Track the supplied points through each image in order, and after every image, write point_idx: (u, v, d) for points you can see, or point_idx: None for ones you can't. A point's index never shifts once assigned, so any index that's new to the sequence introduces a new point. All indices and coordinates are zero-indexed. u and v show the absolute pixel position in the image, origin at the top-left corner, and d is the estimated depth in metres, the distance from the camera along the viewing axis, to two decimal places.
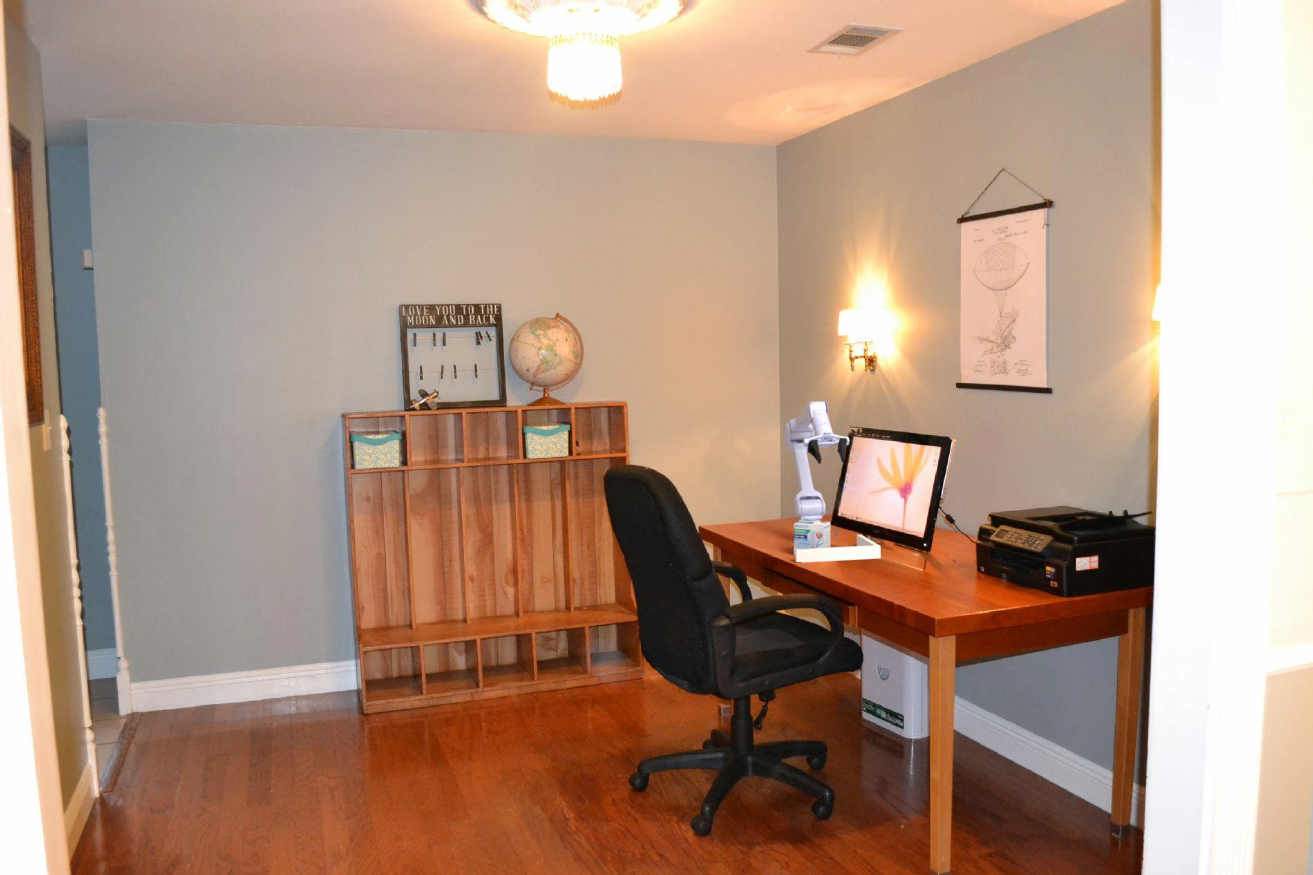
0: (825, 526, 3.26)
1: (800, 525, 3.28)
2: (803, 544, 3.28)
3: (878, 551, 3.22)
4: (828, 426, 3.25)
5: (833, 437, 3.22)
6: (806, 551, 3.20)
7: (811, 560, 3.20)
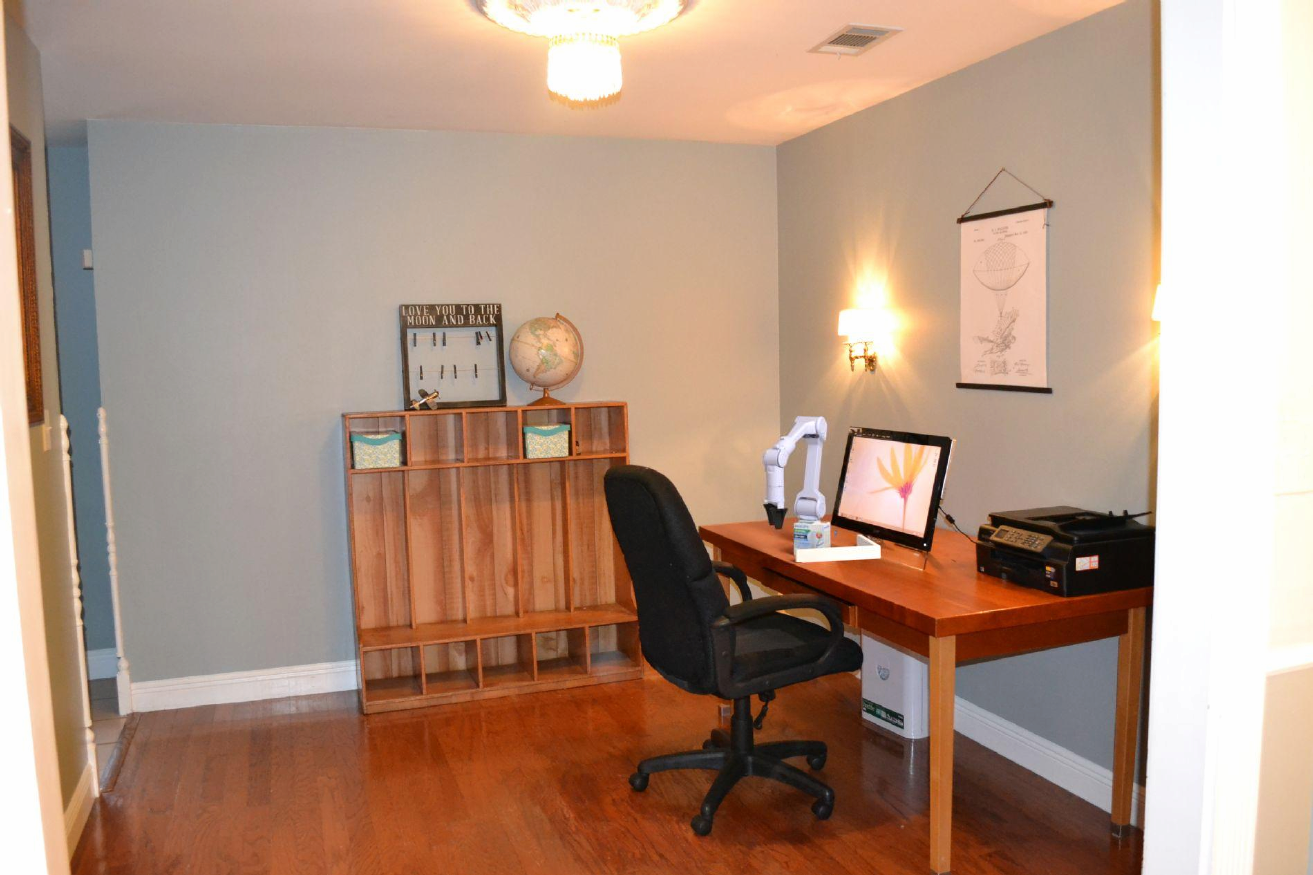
0: (825, 526, 3.26)
1: (800, 525, 3.28)
2: (803, 544, 3.28)
3: (878, 551, 3.22)
4: (768, 489, 3.27)
5: None
6: (806, 551, 3.20)
7: (811, 560, 3.20)
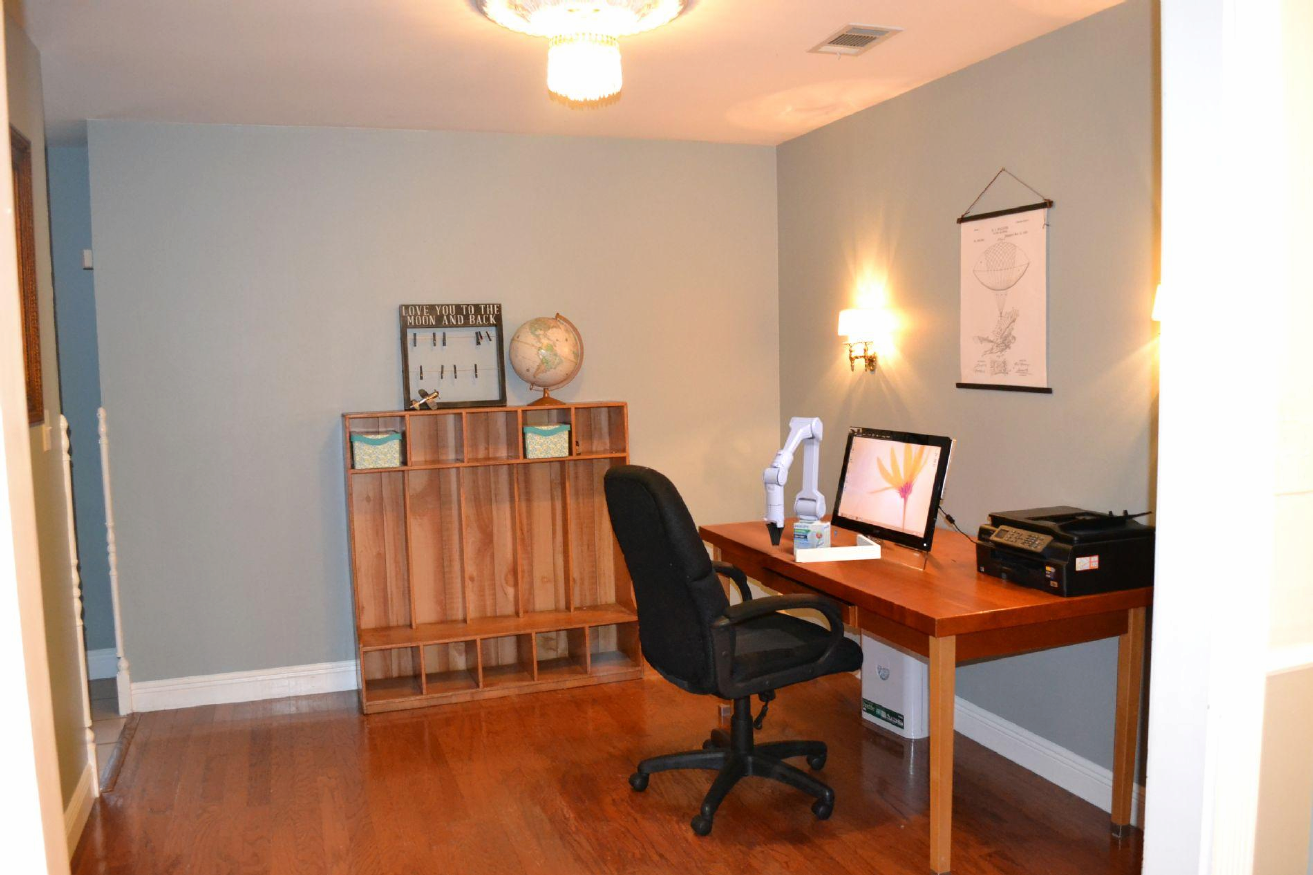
0: (825, 526, 3.26)
1: (800, 525, 3.28)
2: (803, 544, 3.28)
3: (878, 551, 3.22)
4: (768, 508, 3.27)
5: None
6: (806, 551, 3.20)
7: (811, 560, 3.20)
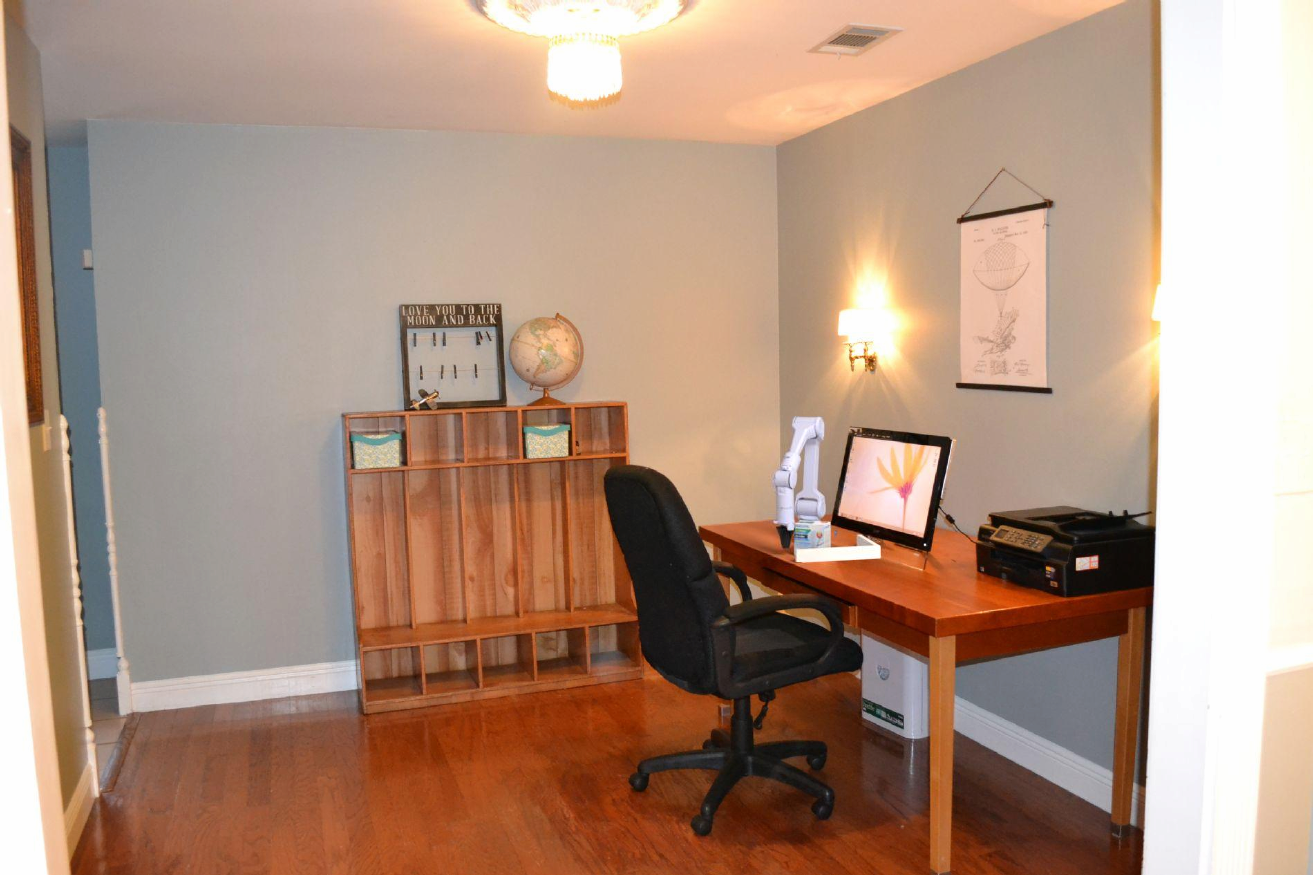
0: (825, 526, 3.26)
1: (800, 525, 3.28)
2: (803, 544, 3.28)
3: (878, 551, 3.22)
4: (778, 511, 3.28)
5: None
6: (806, 551, 3.20)
7: (811, 560, 3.20)
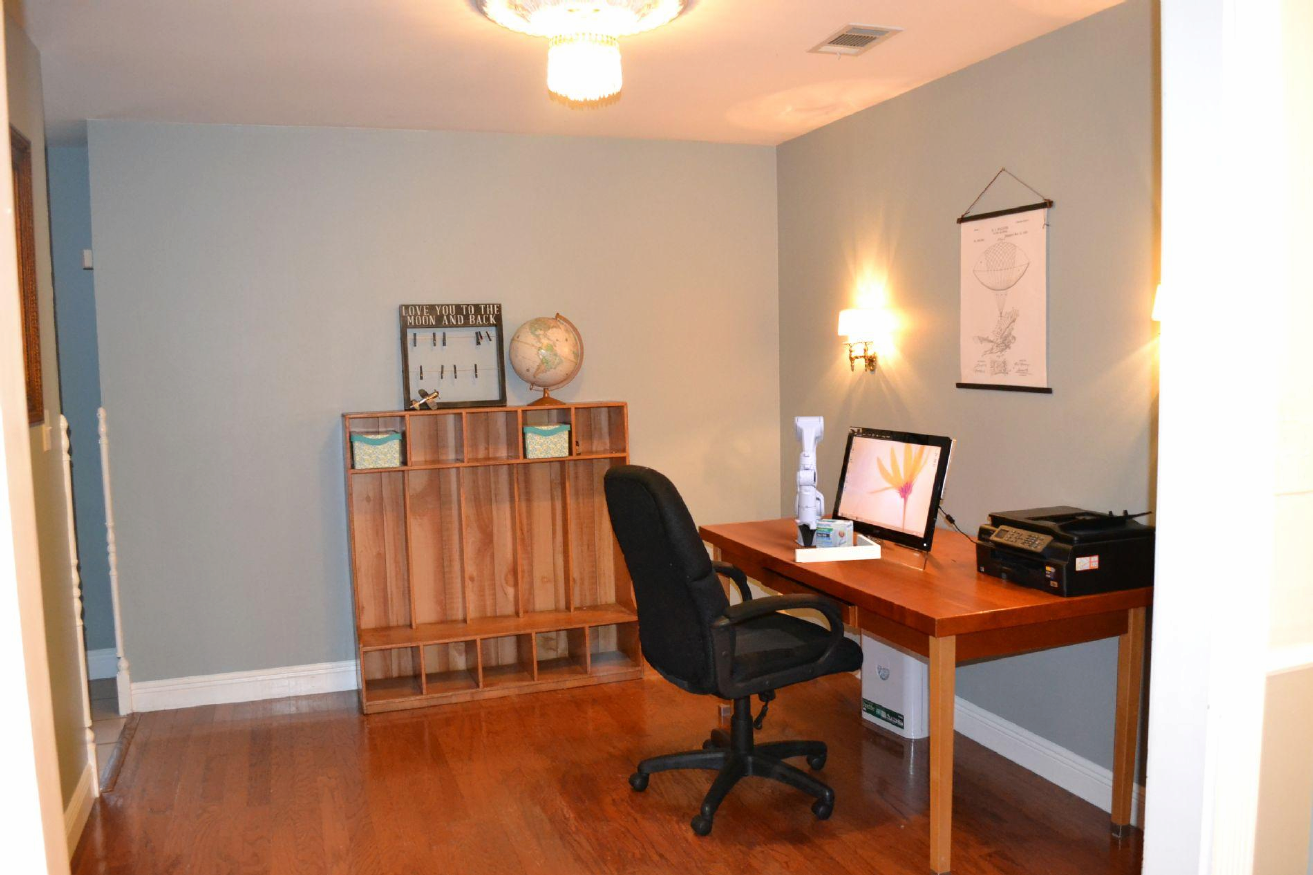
0: (847, 525, 3.26)
1: (822, 524, 3.29)
2: (825, 543, 3.29)
3: (878, 551, 3.22)
4: (800, 510, 3.29)
5: None
6: (806, 551, 3.20)
7: (811, 560, 3.20)
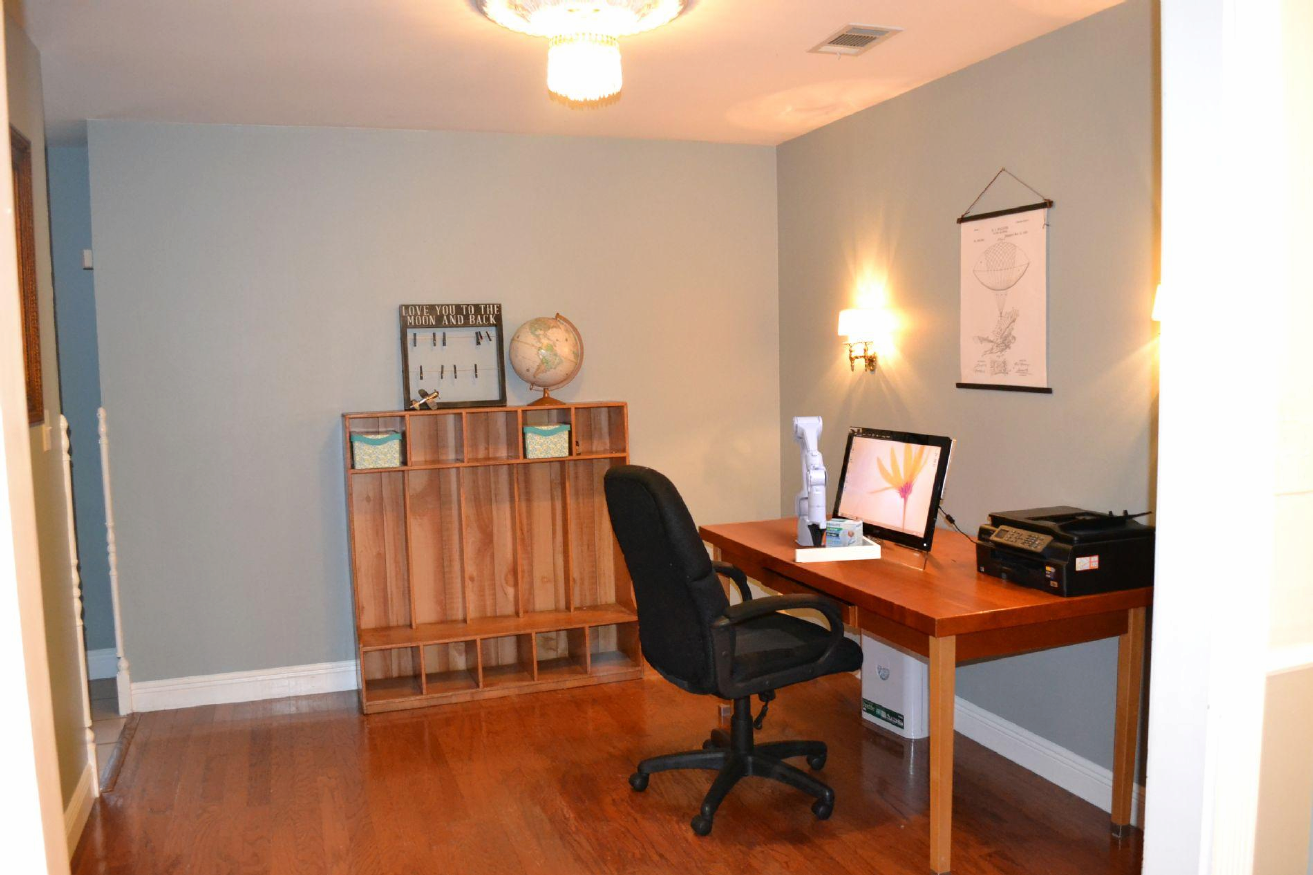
0: (857, 524, 3.27)
1: (832, 523, 3.30)
2: (834, 542, 3.30)
3: (878, 551, 3.22)
4: (810, 509, 3.29)
5: None
6: (806, 551, 3.20)
7: (811, 560, 3.20)
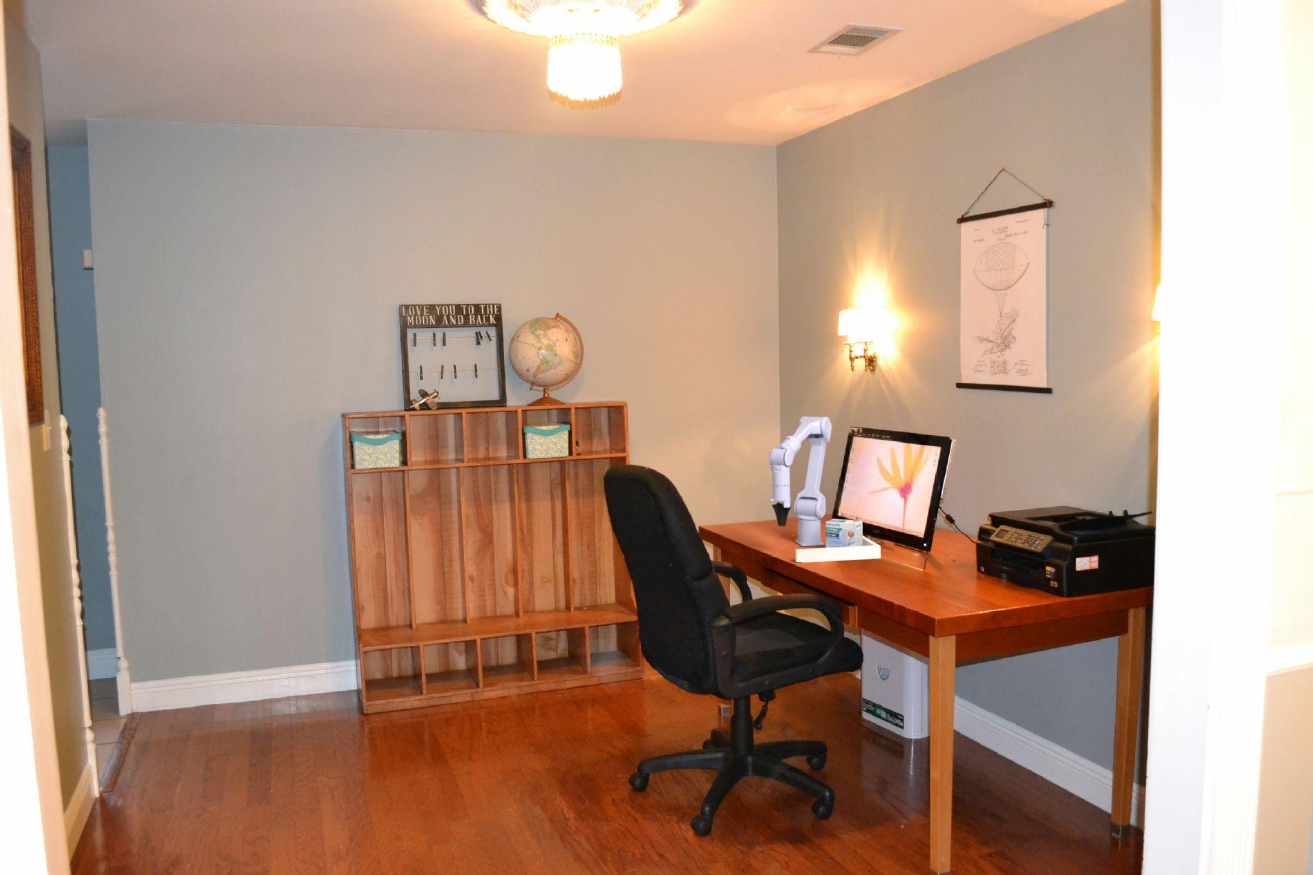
0: (857, 525, 3.27)
1: (832, 523, 3.30)
2: (834, 543, 3.30)
3: (878, 551, 3.22)
4: (774, 488, 3.29)
5: None
6: (806, 551, 3.20)
7: (811, 560, 3.20)
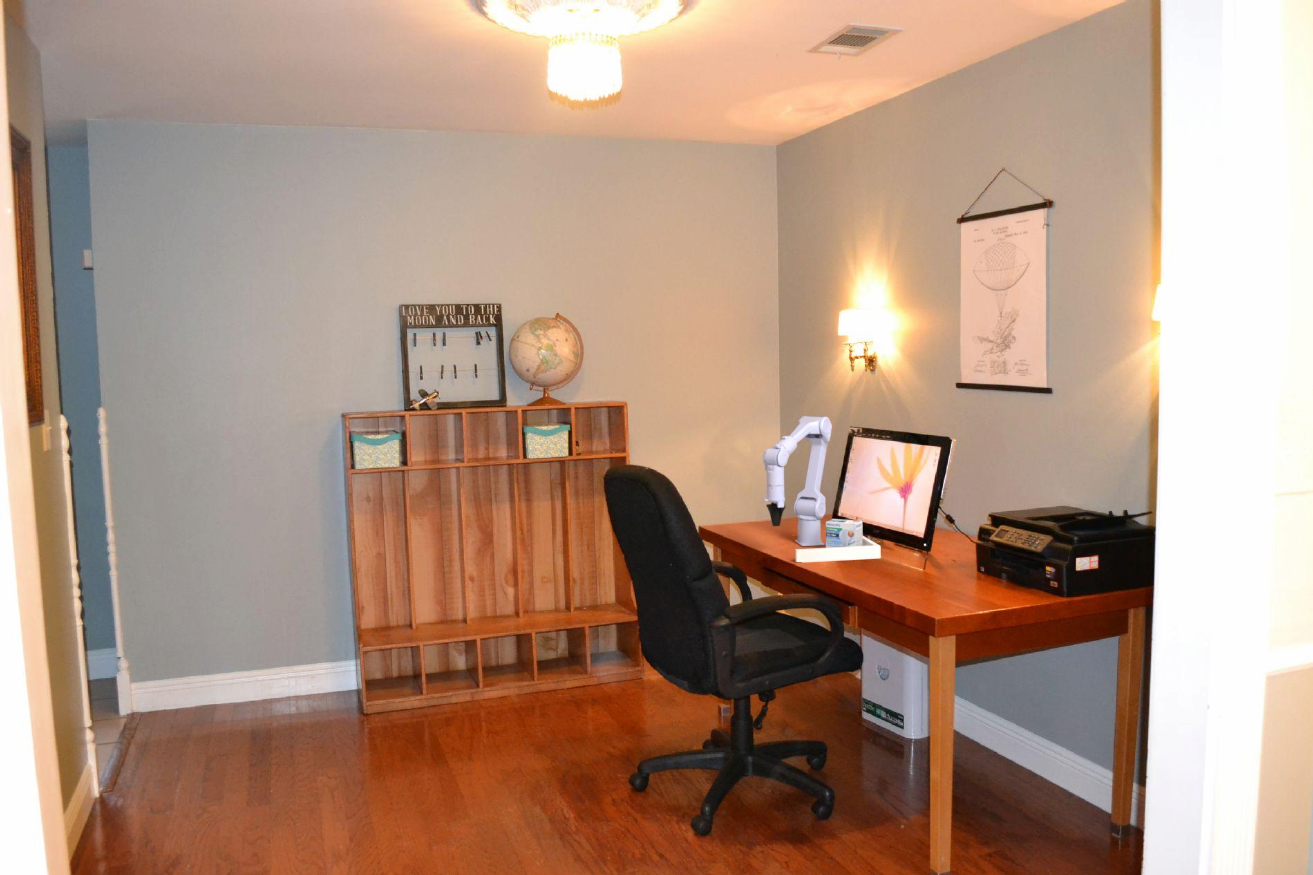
0: (857, 525, 3.27)
1: (832, 523, 3.30)
2: (834, 543, 3.30)
3: (878, 551, 3.22)
4: (768, 488, 3.30)
5: None
6: (806, 551, 3.20)
7: (811, 560, 3.20)
